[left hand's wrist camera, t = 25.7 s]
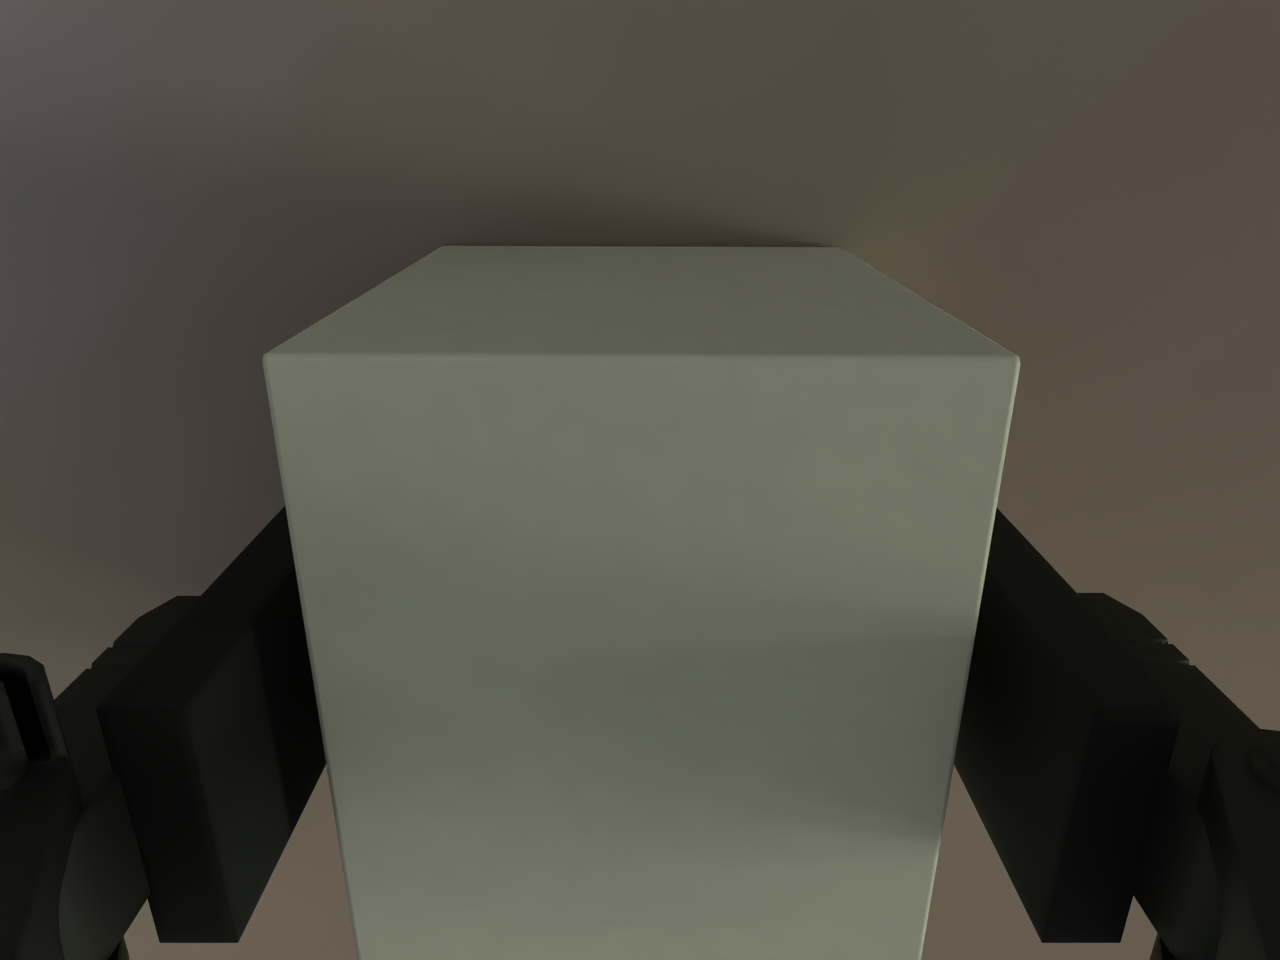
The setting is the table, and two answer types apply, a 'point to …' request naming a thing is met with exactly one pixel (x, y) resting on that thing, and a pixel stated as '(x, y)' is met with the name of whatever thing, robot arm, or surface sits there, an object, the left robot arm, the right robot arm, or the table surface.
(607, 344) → the block
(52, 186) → the table surface
